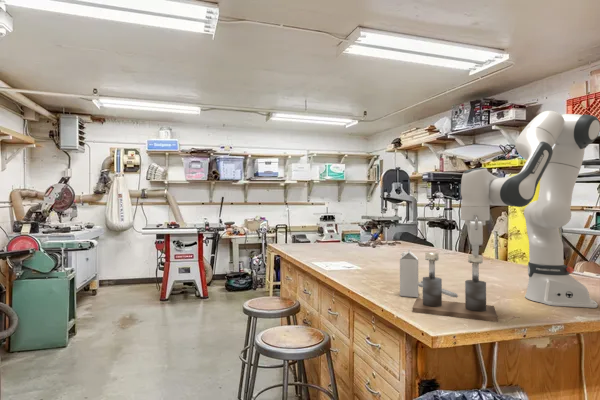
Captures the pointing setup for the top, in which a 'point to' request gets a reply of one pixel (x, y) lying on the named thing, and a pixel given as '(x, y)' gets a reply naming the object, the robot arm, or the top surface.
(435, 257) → the plunger
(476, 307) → the press block
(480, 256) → the plunger
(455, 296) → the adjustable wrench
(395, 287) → the top surface
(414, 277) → the milk carton
